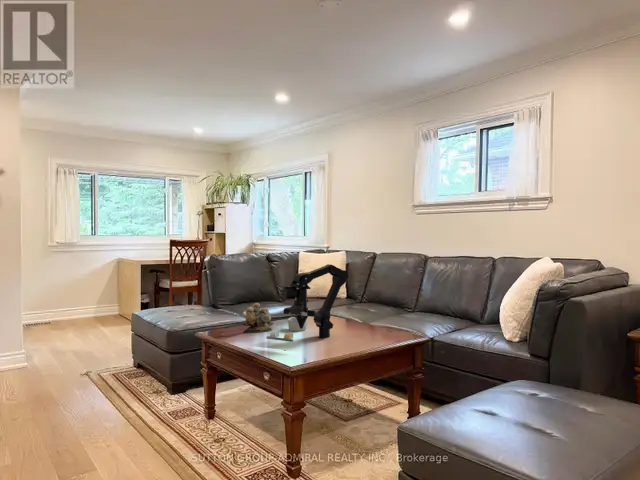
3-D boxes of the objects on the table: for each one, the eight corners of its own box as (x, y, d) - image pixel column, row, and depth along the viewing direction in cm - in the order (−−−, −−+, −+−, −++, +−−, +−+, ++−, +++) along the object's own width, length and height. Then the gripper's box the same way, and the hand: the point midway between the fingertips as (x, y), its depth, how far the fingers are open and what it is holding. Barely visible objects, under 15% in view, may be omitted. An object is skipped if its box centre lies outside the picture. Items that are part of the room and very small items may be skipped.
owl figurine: (246, 336, 244) (245, 305, 244) (238, 333, 255) (238, 303, 254) (276, 333, 253) (276, 302, 253) (268, 329, 264) (267, 300, 263)
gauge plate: (277, 335, 246) (277, 331, 246) (306, 339, 237) (306, 335, 237) (262, 341, 234) (262, 336, 234) (292, 345, 225) (292, 340, 225)
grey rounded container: (309, 333, 252) (309, 319, 252) (291, 335, 248) (291, 320, 248) (301, 328, 265) (301, 315, 265) (283, 330, 261) (283, 316, 261)
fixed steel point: (274, 335, 241) (274, 331, 241) (279, 336, 239) (279, 332, 239) (268, 338, 236) (268, 333, 236) (272, 338, 234) (272, 334, 234)
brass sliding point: (288, 337, 236) (288, 332, 236) (293, 338, 235) (293, 333, 235) (282, 339, 232) (282, 334, 232) (287, 340, 230) (287, 335, 230)
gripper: (277, 298, 227) (277, 329, 227) (309, 301, 218) (309, 333, 218) (289, 296, 237) (289, 325, 237) (320, 298, 228) (320, 329, 228)
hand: (301, 328), depth 230 cm, fingers closed
